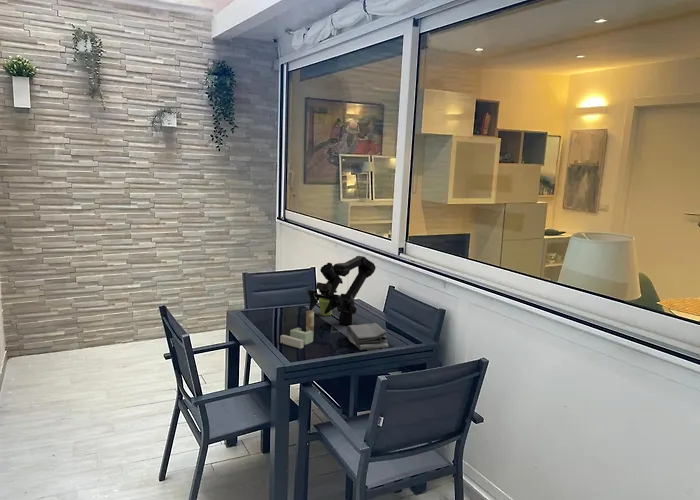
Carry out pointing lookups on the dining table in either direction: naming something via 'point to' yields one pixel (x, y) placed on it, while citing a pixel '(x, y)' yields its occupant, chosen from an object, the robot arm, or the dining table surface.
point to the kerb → (291, 341)
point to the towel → (367, 336)
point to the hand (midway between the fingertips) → (317, 311)
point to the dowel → (310, 321)
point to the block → (302, 335)
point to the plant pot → (324, 306)
